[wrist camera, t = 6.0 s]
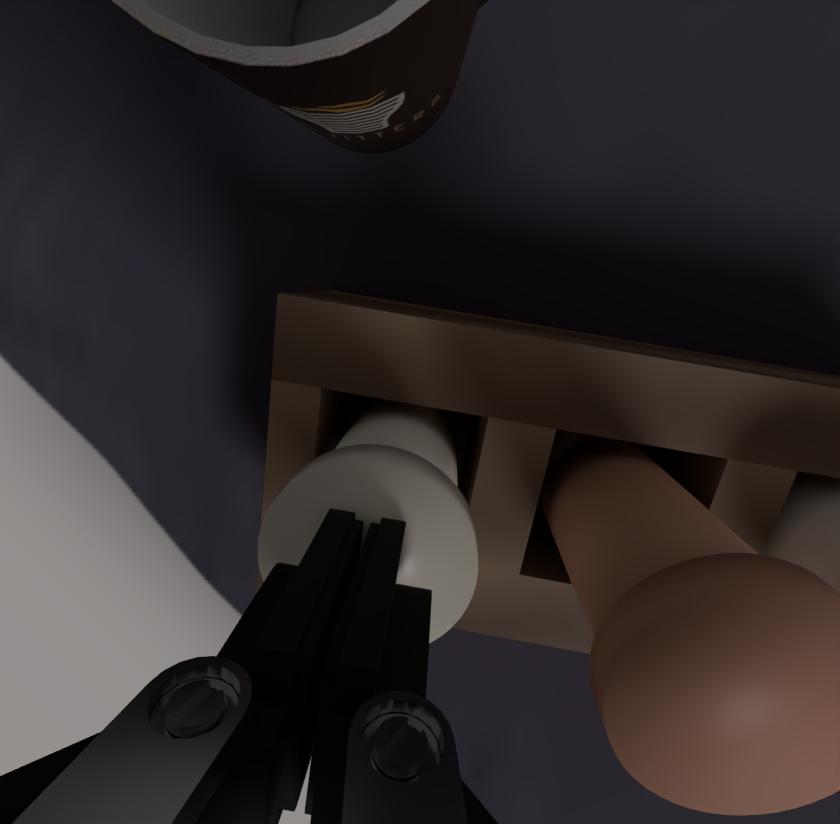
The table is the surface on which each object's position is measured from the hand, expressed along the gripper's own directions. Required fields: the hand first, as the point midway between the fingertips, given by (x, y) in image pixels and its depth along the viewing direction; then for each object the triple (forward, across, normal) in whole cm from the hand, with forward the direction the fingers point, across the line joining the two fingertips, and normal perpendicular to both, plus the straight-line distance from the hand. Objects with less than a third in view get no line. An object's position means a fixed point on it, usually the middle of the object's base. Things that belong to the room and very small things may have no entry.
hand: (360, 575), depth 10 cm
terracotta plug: (+6, -7, 0) cm, 9 cm away
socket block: (+10, -7, 0) cm, 13 cm away
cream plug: (+8, 0, 0) cm, 8 cm away
